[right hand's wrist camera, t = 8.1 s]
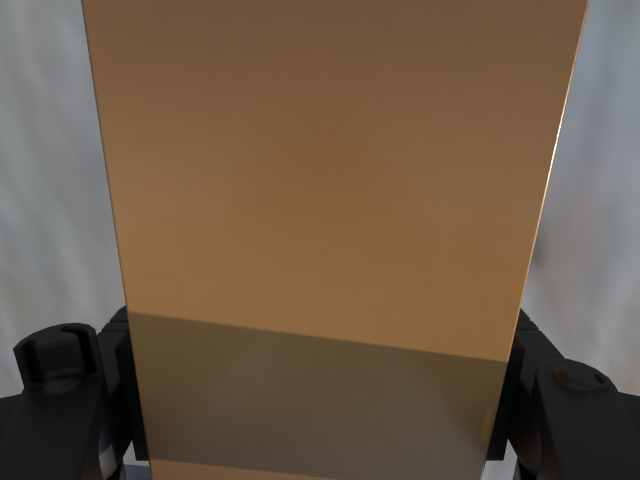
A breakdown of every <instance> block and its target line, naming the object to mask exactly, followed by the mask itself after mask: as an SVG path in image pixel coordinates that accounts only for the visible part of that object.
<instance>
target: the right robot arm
mask: <svg viewBox="0 0 640 480" xmlns="http://www.w3.org/2000/svg"><path fill="white" fill-rule="evenodd" d="M13 351H14V354H15V357H16V361H17V364H18V367H19V371H20V374H21V378H22V381H23V384H24V389H23V391H22V393H21V394H18V395H15V396H10V397H5V398H0V480H126V473H125V466H124V462H123V456H124V454H125V452H126V451H127V449H128V447H129V445H130V443H131V441H132V442H133V447H134V452H135V457H136V461H149V458H148V451H147V444H146V437H145V431H144V424H143V417H142V410H141V404H140V397H139V390H138V383H137V376H136V370H135V363H134V356H133V349H132V342H131V336H130V329H129V322H128V315H127V309H126V306H124V307H122V308H121V309H119V310H118V311H117V313H116V314H115V315H114V316H113V317H112V318H111V320H110V323H107V324H106V325H105V326H104V328H103V329H102V330H101V332H99V333H98V334H97V335H96V330H95V329H94V328H93V327H91V326H90V325H87V324H82V323H67V324H60V325H56V326H51V327H48V328H45V329H42V330H40V331H37V332H35V333H33V334H31V335H29V336H28V337H26V338H24V339H23V340H21V341H20V342H19V343H18V344H17V345H16V346H15V347H14V348H13ZM508 439H509V441H510V443H511V445H512V447H513V449H514V451H515V453H516V455H517V456H518V457H517V462H516V466H515V471H514V476H513V480H640V396H635V395H630V394H625V393H621V392H618V391H617V388H616V387H615V385H614V384H613V383H612V382H611V380H610V379H609V378H608V377H607V376H605V375H604V374H603V373H601V372H600V371H598V370H597V369H595V368H593V367H590V366H588V365H586V364H584V363H581V362H577V361H573V360H569V359H565V358H564V357H563V356H562V354H561V353H560V352H559V351H558V350H557V349H556V348H555V346H554V345H553V344H552V343H551V342H550V341H549V340H548V339H547V337H546V336H545V335H544V334H543V333H542V332H541V331H539V328H538V327H537V326H536V325H535V324H534V323H533V321H530V318H529V317H528V316H527V315H526V313H525V312H524V311H523V310H522V309H521V308H520V311H519V316H518V320H517V325H516V329H515V333H514V338H513V342H512V347H511V351H510V356H509V360H508V365H507V369H506V373H505V378H504V382H503V387H502V391H501V396H500V400H499V405H498V409H497V414H496V418H495V422H494V427H493V431H492V436H491V440H490V445H489V449H488V454H487V458H486V460H504V455H505V450H506V445H507V440H508Z"/></svg>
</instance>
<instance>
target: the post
mask: <svg viewBox="0 0 640 480" xmlns="http://www.w3.org/2000/svg"><path fill="white" fill-rule="evenodd" d="M81 3H82V10H83V17H84V24H85V31H86V37H87V44H88V51H89V58H90V64H91V71H92V78H93V85H94V92H95V98H96V105H97V112H98V119H99V125H100V132H101V139H102V146H103V153H104V159H105V166H106V173H107V180H108V187H109V193H110V200H111V207H112V214H113V220H114V227H115V234H116V241H117V248H118V254H119V261H120V268H121V275H122V281H123V288H124V295H125V302H126V309H127V315H128V322H129V329H130V336H131V342H132V349H133V356H134V363H135V370H136V376H137V383H138V390H139V397H140V404H141V410H142V417H143V424H144V431H145V437H146V444H147V451H148V458H149V465H150V471H151V478H152V480H482V476H483V471H484V467H485V462H486V458H487V454H488V449H489V445H490V440H491V436H492V431H493V427H494V422H495V418H496V414H497V409H498V405H499V400H500V396H501V391H502V387H503V382H504V378H505V373H506V369H507V365H508V360H509V356H510V351H511V347H512V342H513V338H514V333H515V329H516V325H517V320H518V316H519V311H520V307H521V302H522V298H523V293H524V289H525V285H526V280H527V276H528V271H529V267H530V262H531V258H532V253H533V249H534V245H535V240H536V236H537V231H538V227H539V222H540V218H541V213H542V209H543V204H544V200H545V196H546V191H547V187H548V182H549V178H550V173H551V169H552V164H553V160H554V156H555V151H556V147H557V142H558V138H559V133H560V129H561V124H562V120H563V116H564V111H565V107H566V102H567V98H568V93H569V89H570V84H571V80H572V76H573V71H574V67H575V62H576V58H577V53H578V49H579V44H580V40H581V36H582V31H583V27H584V22H585V18H586V13H587V9H588V4H589V0H81Z"/></svg>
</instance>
